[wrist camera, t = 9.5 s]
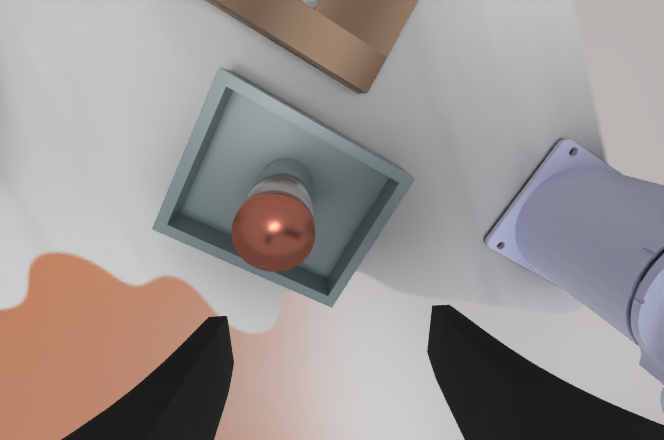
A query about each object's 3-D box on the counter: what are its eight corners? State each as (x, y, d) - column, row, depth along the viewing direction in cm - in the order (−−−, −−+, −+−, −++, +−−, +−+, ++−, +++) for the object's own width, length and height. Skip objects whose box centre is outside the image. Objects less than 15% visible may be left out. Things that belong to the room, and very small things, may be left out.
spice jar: (313, 210, 21) (315, 270, 14) (260, 211, 20) (235, 273, 13) (312, 158, 20) (314, 194, 13) (256, 158, 19) (226, 195, 12)
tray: (402, 169, 21) (414, 178, 18) (329, 286, 23) (331, 307, 21) (230, 71, 18) (219, 67, 16) (169, 213, 21) (152, 229, 18)
